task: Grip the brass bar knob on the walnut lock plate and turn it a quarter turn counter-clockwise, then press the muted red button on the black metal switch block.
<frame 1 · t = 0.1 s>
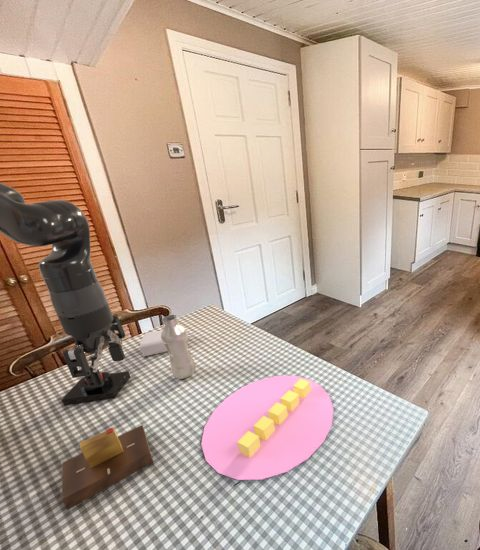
hand: (109, 372, 65), 19 cm above the table, tool pointing down, fingers open, 8 cm apart
switch block: (99, 390, 87), on the table
lock knob: (102, 447, 63), point 6 cm above the table, hinge at 0.0°
lock plate: (111, 467, 66), on the table
platter: (271, 418, 78), on the table
charger: (171, 345, 107), on the table
button: (94, 378, 85), point 4 cm above the table, slide at 0.1 cm
plastic bottle: (185, 375, 93), on the table
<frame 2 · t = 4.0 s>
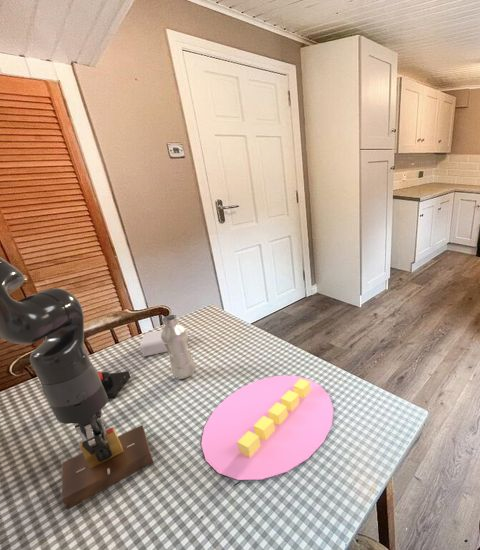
hand: (105, 454, 64), 4 cm above the table, tool pointing down, fingers closed on lock knob
lock knob: (102, 447, 63), point 6 cm above the table, hinge at 0.0°, touching gripper
everything else where it was.
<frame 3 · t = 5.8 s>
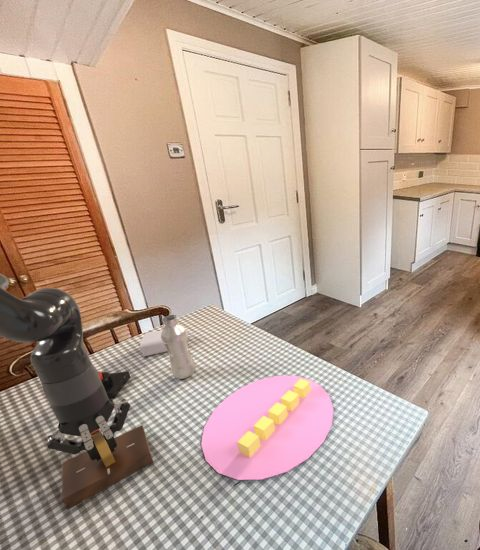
hand: (105, 453, 64), 4 cm above the table, tool pointing down, fingers closed on lock knob
lock knob: (102, 447, 63), point 6 cm above the table, hinge at 99.7°, touching gripper
everything else where it was.
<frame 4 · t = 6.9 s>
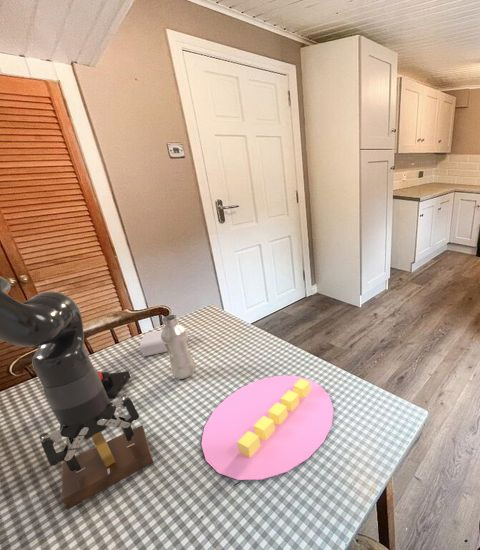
hand: (104, 452, 64), 4 cm above the table, tool pointing down, fingers open, 8 cm apart
lock knob: (102, 447, 63), point 6 cm above the table, hinge at 99.6°
everything else where it was.
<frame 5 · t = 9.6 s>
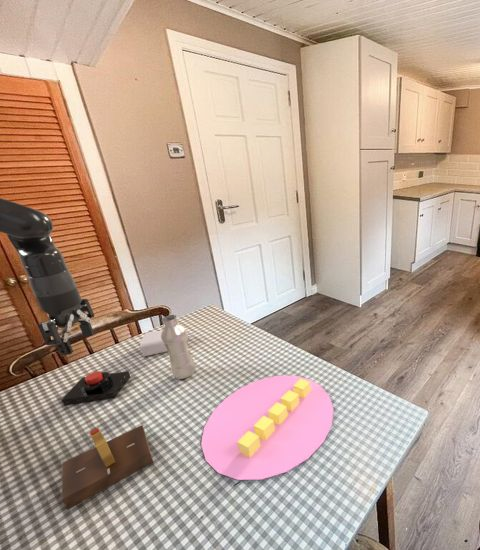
hand: (79, 344, 81), 16 cm above the table, tool pointing down, fingers open, 8 cm apart
nothing on the table moved.
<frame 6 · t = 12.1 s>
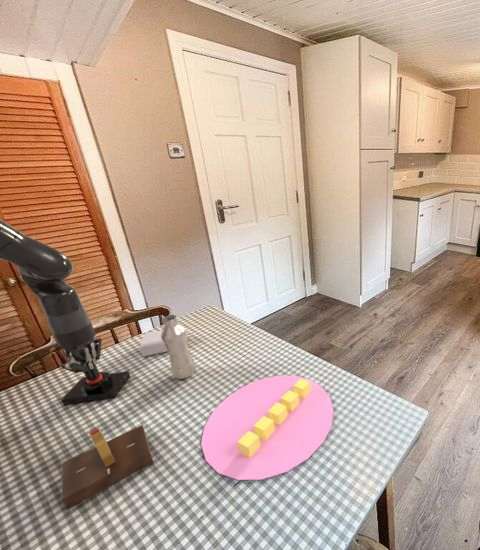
hand: (94, 378, 85), 5 cm above the table, tool pointing down, fingers closed
button: (95, 380, 85), point 4 cm above the table, slide at -0.7 cm, touching gripper
everything else where it was.
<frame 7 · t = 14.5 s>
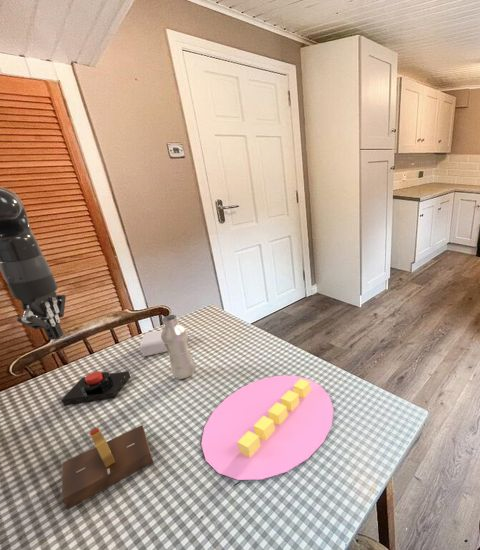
hand: (56, 337, 77), 20 cm above the table, tool pointing down, fingers closed
button: (94, 378, 85), point 4 cm above the table, slide at 0.1 cm
everything else where it was.
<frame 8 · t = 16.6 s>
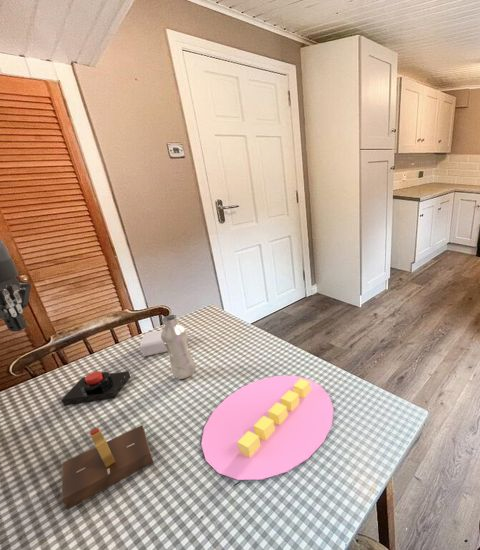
hand: (19, 329, 71), 25 cm above the table, tool pointing down, fingers closed
nothing on the table moved.
at the end: lock knob at +100° (first picture: +0°); button pushed in 1.1 cm at the most during the clip, back to where it started at the end; button slide at 0.1 cm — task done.
